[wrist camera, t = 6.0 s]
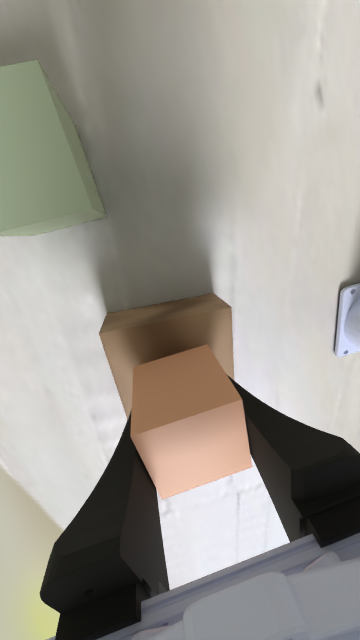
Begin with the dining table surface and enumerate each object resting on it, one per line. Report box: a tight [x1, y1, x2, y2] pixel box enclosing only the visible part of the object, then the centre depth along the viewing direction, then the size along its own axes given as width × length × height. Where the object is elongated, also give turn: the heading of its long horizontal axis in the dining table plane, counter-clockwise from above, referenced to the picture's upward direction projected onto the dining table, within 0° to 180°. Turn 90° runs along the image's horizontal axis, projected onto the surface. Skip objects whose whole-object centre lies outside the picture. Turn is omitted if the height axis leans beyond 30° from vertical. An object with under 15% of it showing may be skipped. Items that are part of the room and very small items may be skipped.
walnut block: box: [99, 293, 234, 419], centre depth 17 cm, size 9×9×4 cm
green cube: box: [0, 60, 107, 236], centre depth 11 cm, size 5×5×5 cm
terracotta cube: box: [130, 344, 252, 500], centre depth 12 cm, size 5×5×5 cm
